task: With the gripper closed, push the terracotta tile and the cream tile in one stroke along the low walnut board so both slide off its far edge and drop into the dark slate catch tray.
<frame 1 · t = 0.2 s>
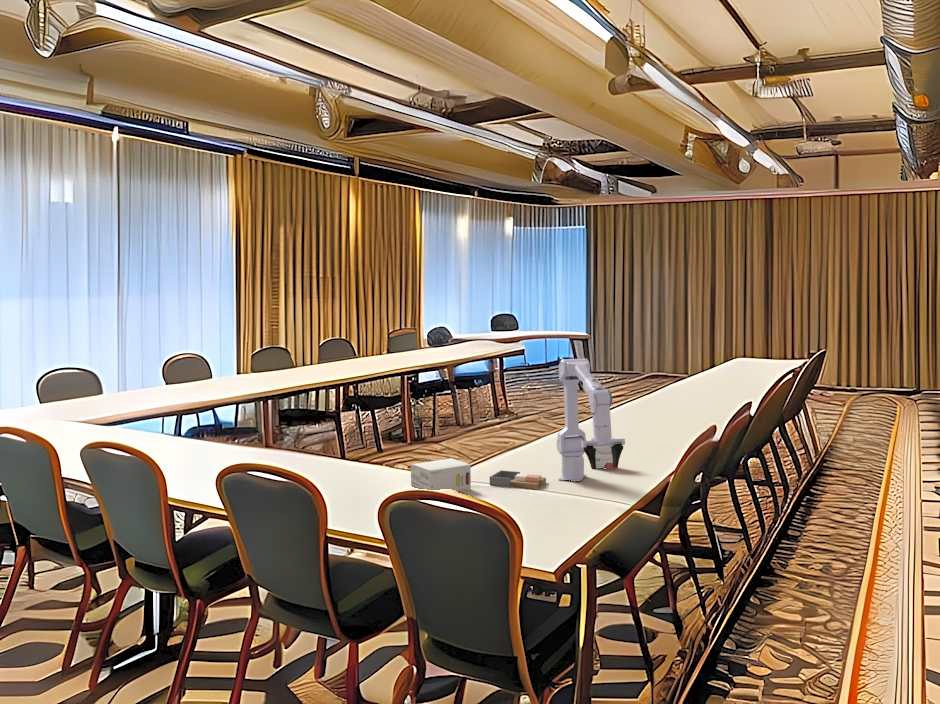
hand: (604, 468, 278), 11 cm above the table, tool pointing down, fingers open, 7 cm apart
supplement box: (441, 490, 297), on the table
ink box: (603, 468, 325), on the table
terracotta tile: (534, 480, 299), point 2 cm above the table, touching walnut board
walnut board: (527, 484, 301), on the table
cream tile: (522, 479, 301), point 2 cm above the table, touching walnut board
slate tray: (505, 482, 305), on the table
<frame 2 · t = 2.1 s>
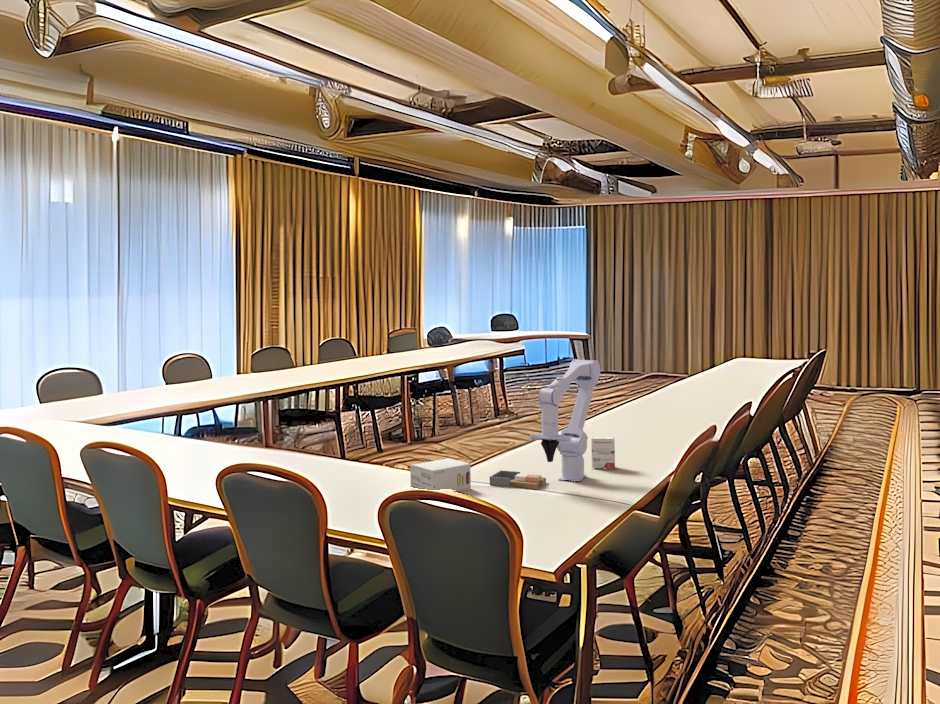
hand: (550, 461, 296), 9 cm above the table, tool pointing down, fingers closed
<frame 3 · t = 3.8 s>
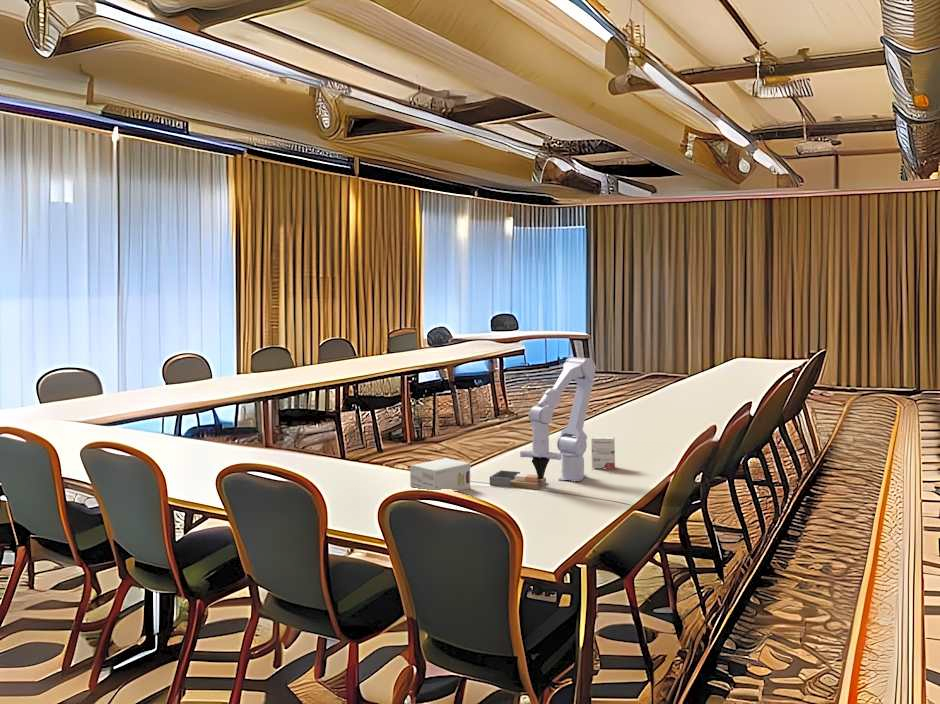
hand: (540, 478, 298), 3 cm above the table, tool pointing down, fingers closed
terracotta tile: (533, 480, 300), point 2 cm above the table, touching gripper, walnut board
everything else where it was.
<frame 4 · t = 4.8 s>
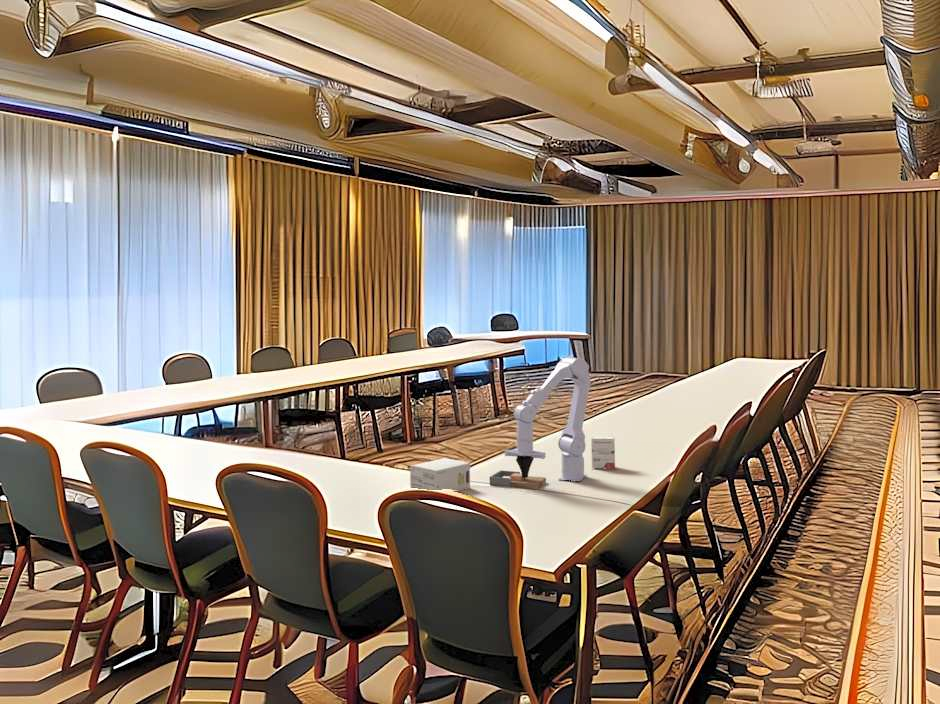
hand: (525, 477, 301), 3 cm above the table, tool pointing down, fingers closed
terracotta tile: (517, 479, 302), point 2 cm above the table, touching gripper, walnut board
cream tile: (507, 482, 304), resting on slate tray
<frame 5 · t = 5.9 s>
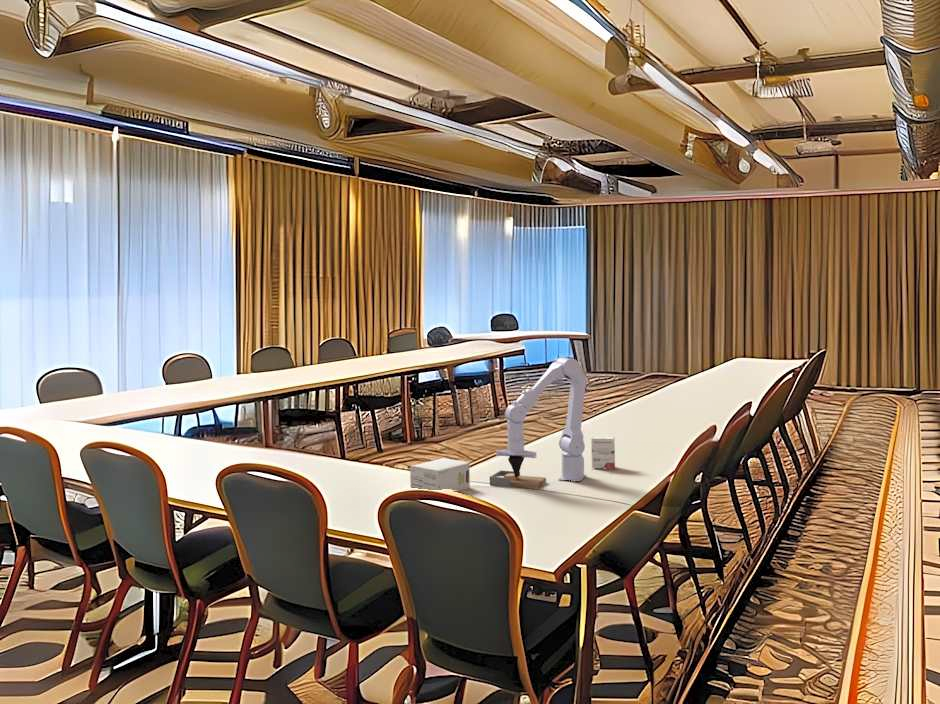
hand: (516, 476, 302), 3 cm above the table, tool pointing down, fingers closed, pressing on terracotta tile
terracotta tile: (511, 479, 303), point 2 cm above the table, tilted 7°, touching cream tile, gripper, walnut board
cream tile: (500, 481, 305), resting on slate tray, touching terracotta tile
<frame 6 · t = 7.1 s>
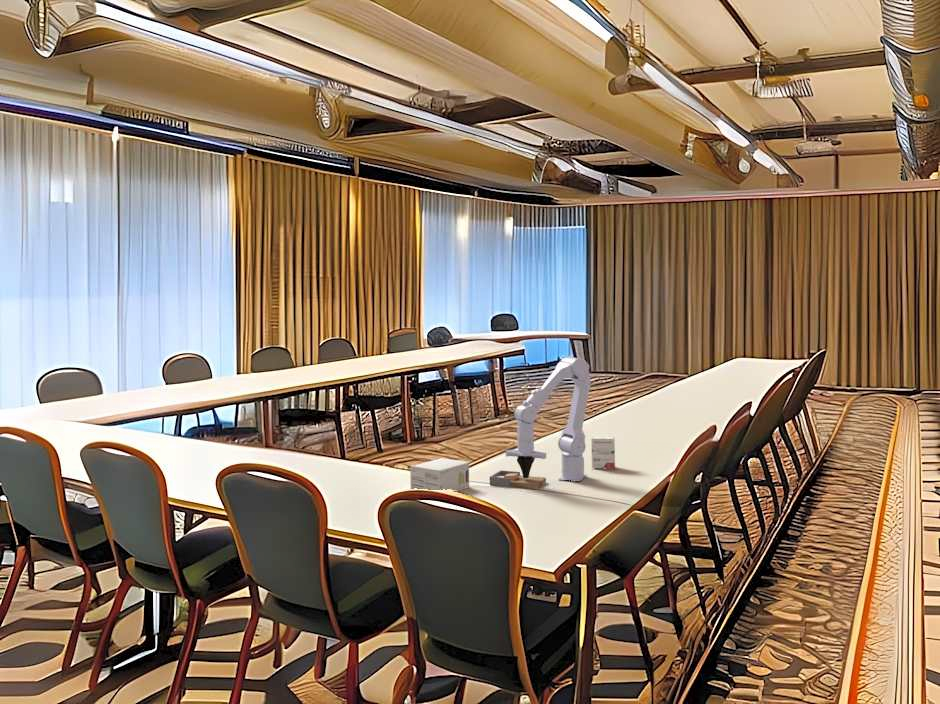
hand: (526, 477, 301), 3 cm above the table, tool pointing down, fingers closed
terracotta tile: (511, 479, 303), point 2 cm above the table, tilted 7°, touching cream tile, walnut board
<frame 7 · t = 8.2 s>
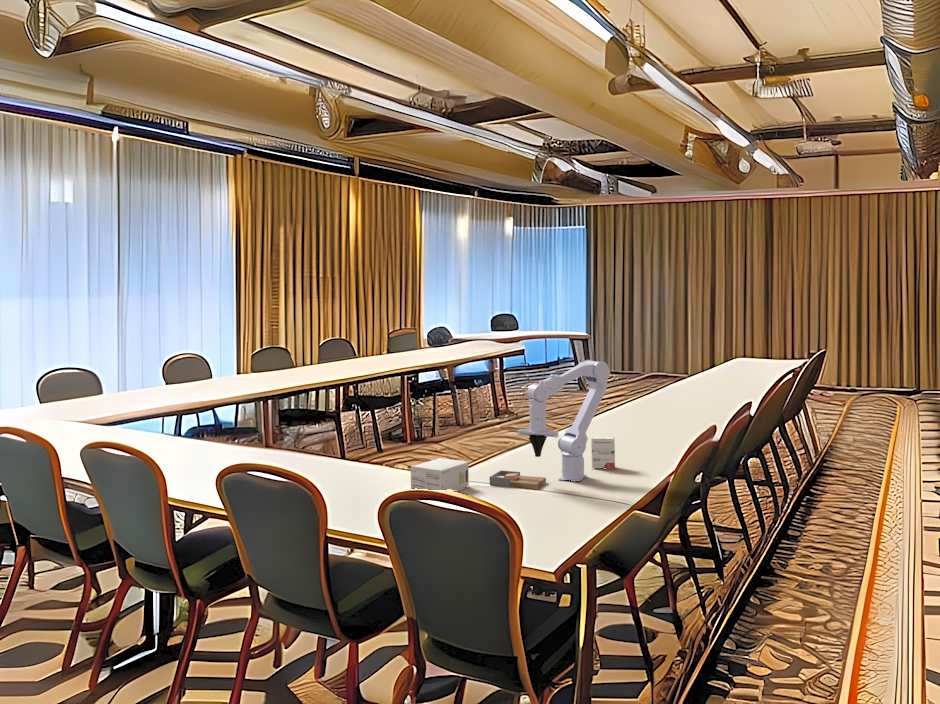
hand: (538, 456, 301), 10 cm above the table, tool pointing down, fingers closed
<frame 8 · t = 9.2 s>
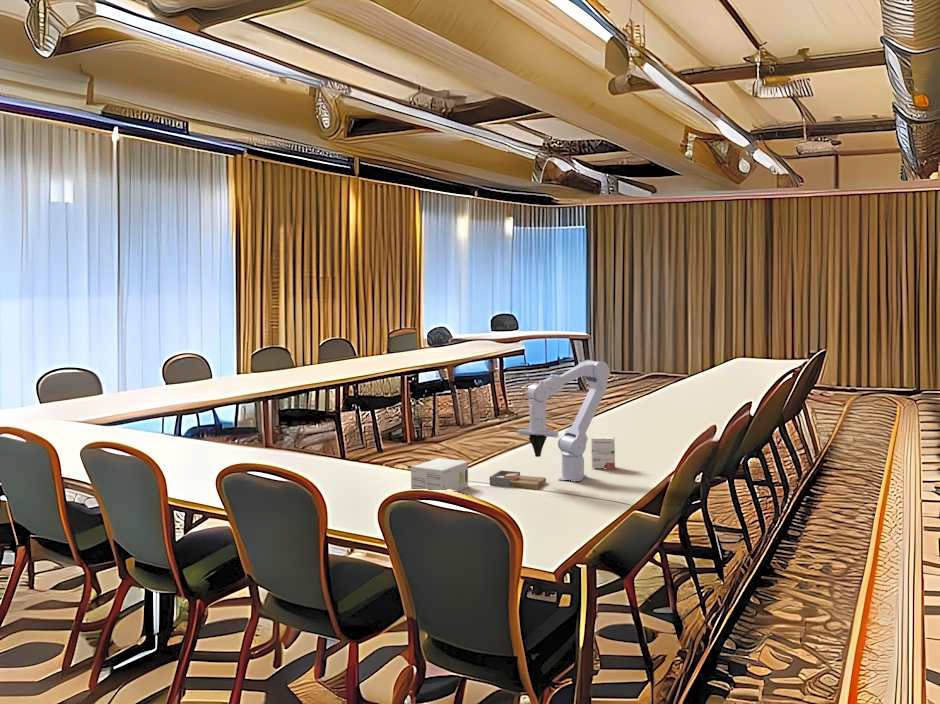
hand: (538, 456, 301), 10 cm above the table, tool pointing down, fingers closed
at the end: terracotta tile inside the target area on the slate tray (2.9 cm from its centre), point 1.7 cm above the slate tray's base; cream tile inside the target area on the slate tray (1.4 cm from its centre), point 0.4 cm above the slate tray's base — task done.
